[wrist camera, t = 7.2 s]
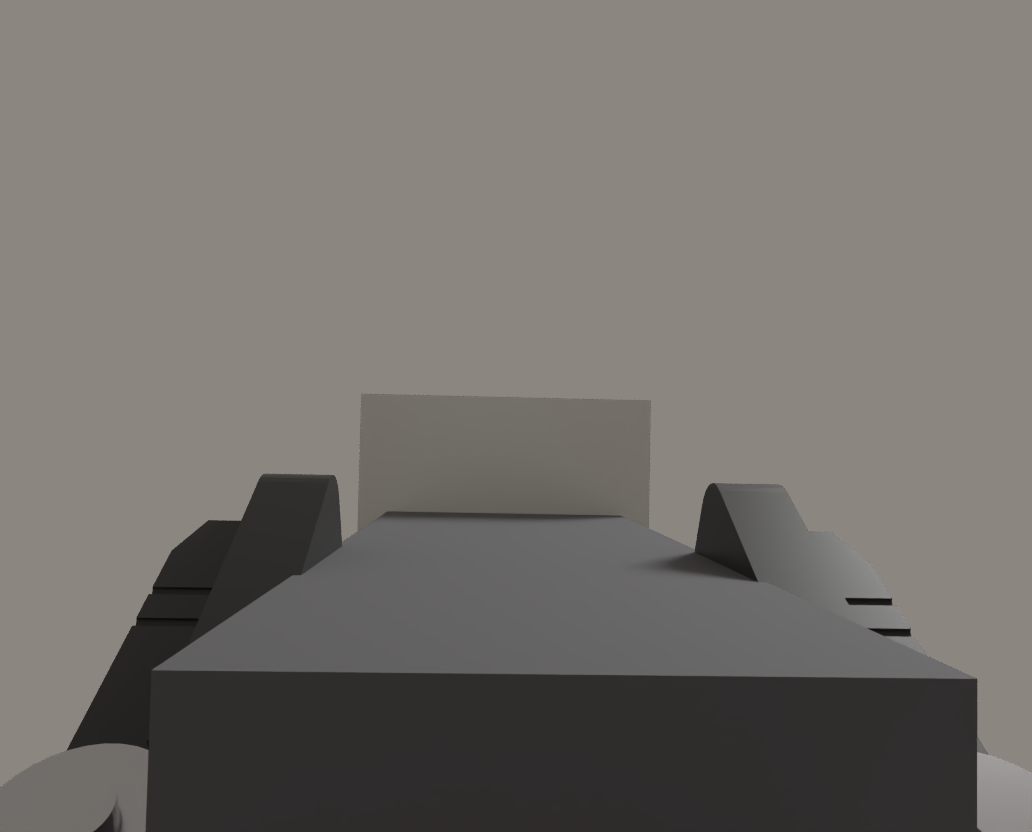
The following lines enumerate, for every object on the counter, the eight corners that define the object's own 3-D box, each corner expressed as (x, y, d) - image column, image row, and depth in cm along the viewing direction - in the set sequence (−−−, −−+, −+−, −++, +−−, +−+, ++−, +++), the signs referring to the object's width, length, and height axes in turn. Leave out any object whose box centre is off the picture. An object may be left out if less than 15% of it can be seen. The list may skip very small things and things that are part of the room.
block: (403, 593, 25) (407, 416, 25) (579, 595, 25) (583, 420, 25) (15, 1331, 4) (62, 247, 4) (1078, 1309, 4) (1074, 278, 4)
